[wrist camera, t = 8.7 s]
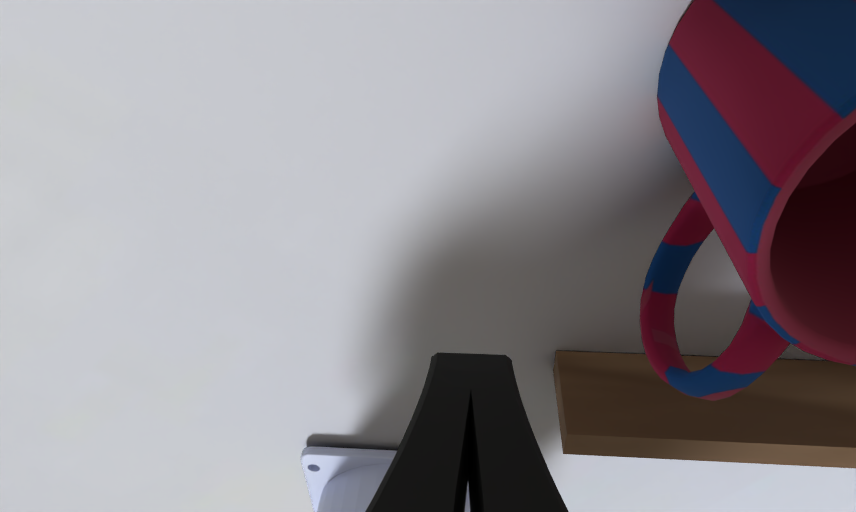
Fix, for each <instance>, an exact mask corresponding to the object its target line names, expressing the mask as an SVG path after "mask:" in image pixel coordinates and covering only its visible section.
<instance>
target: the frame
mask: <svg viewBox="0 0 856 512" xmlns="http://www.w3.org/2000/svg"><path fill="white" fill-rule="evenodd" d="M682 358H683V361H684V363H685V365H686V366H687V367H688V369H689V370H690V371H691V372H693V371H698V370H701V369H703V368H705V367H706V366H708V365H709V364H711V363H712V362H714V361H715V360H716V359H717V358H718V357H707V356H682ZM553 373H554V381H555V389H556V398H557V406H558V414H559V423H560V431H561V439H562V448H563V454H576V455H597V456H617V457H638V458H658V459H678V460H699V461H719V462H739V463H760V464H780V465H800V466H821V467H841V468H856V366H852V365H847V364H843V363H838V362H833V361H814V360H788V359H776V361H775V362H774V363H773V364H772V365H771V366H770V367H769V368H768V369H767V370H766V371H765V372H764V373H763V374H762V375H761V376H760V377H758V378H757V379H756V380H755V381H754V382H752V383H751V384H750V385H749V386H748V387H746V388H744V389H743V390H741V391H739V392H737V393H736V394H734V395H732V396H730V397H727V398H724V399H720V400H716V401H711V400H706V399H701V398H696V397H692V396H688V395H685V394H683V393H681V392H680V391H678V390H677V389H675V388H674V387H672V386H671V385H669V384H668V383H666V382H665V381H663V380H662V379H661V378H660V377H659V376H658V375H657V373H656V372H655V371H654V369H653V368H652V366H651V364H650V362H649V360H648V358H647V356H646V354H627V353H600V352H573V351H556V355H555V362H554V368H553Z"/></svg>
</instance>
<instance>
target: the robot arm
mask: <svg viewBox="0 0 856 512" xmlns="http://www.w3.org/2000/svg"><path fill="white" fill-rule="evenodd" d="M301 463H302V467H303V470H304V474H305V478H306V482H307V486H308V490H309V494H310V498H311V502H312V506H313V510H314V512H568V510H567V508H566V506H565V504H564V502H563V500H562V498H561V495H560V493H559V491H558V489H557V487H556V485H555V483H554V481H553V479H552V476H551V474H550V472H549V470H548V467H547V465H546V463H545V460H544V458H543V456H542V453H541V451H540V448H539V446H538V444H537V441H536V439H535V437H534V434H533V431H532V429H531V426H530V424H529V421H528V418H527V415H526V412H525V409H524V406H523V403H522V400H521V397H520V394H519V391H518V387H517V384H516V380H515V376H514V371H513V366H512V360H511V359H510V358H509V357H507V356H506V355H488V354H461V353H437V354H435V355H434V356H432V358H431V363H430V368H429V371H428V375H427V378H426V382H425V385H424V388H423V391H422V394H421V396H420V399H419V402H418V404H417V407H416V409H415V412H414V414H413V417H412V419H411V421H410V424H409V426H408V428H407V430H406V433H405V435H404V437H403V439H402V442H401V444H400V446H399V448H398V450H397V451H395V450H375V449H355V448H334V447H314V446H312V447H307V448H304V450H303V451H302V455H301Z"/></svg>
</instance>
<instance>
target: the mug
mask: <svg viewBox="0 0 856 512" xmlns="http://www.w3.org/2000/svg"><path fill="white" fill-rule="evenodd" d="M657 100H658V109H659V118H660V121H661V124H662V127H663V130H664V133H665V136H666V138H667V140H668V141H669V143H670V145H671V147H672V149H673V151H674V153H675V155H676V157H677V158H678V160H679V162H680V164H681V166H682V168H683V170H684V172H685V174H686V175H687V177H688V179H689V181H690V183H691V185H692V187H693V189H694V193H693V194H692V195H691V197H690V198H689V199H688V201H687V202H686V203H685V204H684V206H683V208H682V209H681V211H680V212H679V214H678V216H677V217H676V219H675V220H674V222H673V223H672V225H671V227H670V228H669V230H668V232H667V233H666V235H665V237H664V238H663V240H662V242H661V243H660V245H659V248H658V250H657V252H656V254H655V256H654V258H653V260H652V262H651V265H650V268H649V270H648V273H647V275H646V279H645V283H644V287H643V292H642V296H641V303H640V328H641V338H642V342H643V346H644V349H645V353H646V356H647V358H648V360H649V362H650V364H651V366H652V368H653V369H654V371H655V372H656V373H657V375H658V376H659V377H660V378H661V379H662V380H663V381H665V382H666V383H668V384H669V385H671V386H672V387H674V388H675V389H677V390H678V391H680V392H681V393H683V394H685V395H688V396H692V397H696V398H701V399H706V400H711V401H716V400H720V399H724V398H727V397H730V396H732V395H734V394H736V393H737V392H739V391H741V390H743V389H744V388H746V387H748V386H749V385H750V384H751V383H752V382H754V381H755V380H756V379H757V378H758V377H760V376H761V375H762V374H763V373H764V372H765V371H766V370H767V369H768V368H769V367H770V366H771V365H772V364H773V363H774V362H775V361H776V359H777V358H778V357H779V356H780V355H781V354H782V353H783V351H784V350H785V349H786V348H787V347H788V345H789V344H790V343H791V344H793V345H794V346H796V347H798V348H799V349H801V350H803V351H805V352H807V353H810V354H813V355H815V356H818V357H821V358H823V359H826V360H828V361H833V362H838V363H843V364H847V365H852V366H856V0H694V1H693V3H692V4H691V5H690V7H689V8H688V10H687V12H686V13H685V15H684V16H683V18H682V19H681V21H680V22H679V24H678V25H677V27H676V29H675V31H674V33H673V36H672V38H671V40H670V42H669V44H668V47H667V49H666V51H665V55H664V58H663V62H662V66H661V69H660V73H659V82H658V93H657ZM714 228H715V230H716V232H717V234H718V236H719V238H720V240H721V242H722V244H723V245H724V247H725V249H726V251H727V253H728V255H729V257H730V259H731V261H732V262H733V264H734V266H735V268H736V270H737V272H738V274H739V276H740V278H741V279H742V281H743V283H744V285H745V287H746V289H747V291H748V293H749V295H750V296H751V301H750V303H749V306H748V309H747V311H746V314H745V317H744V320H743V322H742V325H741V327H740V329H739V330H738V332H737V334H736V335H735V337H734V339H733V341H732V342H731V344H730V346H729V347H728V348H727V349H726V350H725V351H724V352H723V353H722V354H721V355H720V356H719V357H718V358H717V359H716V360H715V361H714V362H712V363H711V364H709V365H708V366H706V367H705V368H703V369H701V370H698V371H693V372H691V371H690V370H689V369H688V367H687V366H686V365H685V363H684V361H683V358H682V356H681V354H680V352H679V348H678V345H677V341H676V335H675V329H674V308H675V303H676V298H677V293H678V289H679V287H680V284H681V281H682V279H683V277H684V274H685V272H686V270H687V268H688V266H689V264H690V262H691V260H692V258H693V256H694V255H695V253H696V252H697V250H698V249H699V247H700V246H701V244H702V243H703V241H704V240H705V239H706V238H707V236H708V235H709V234H710V233H711V231H712V230H713V229H714Z"/></svg>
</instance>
